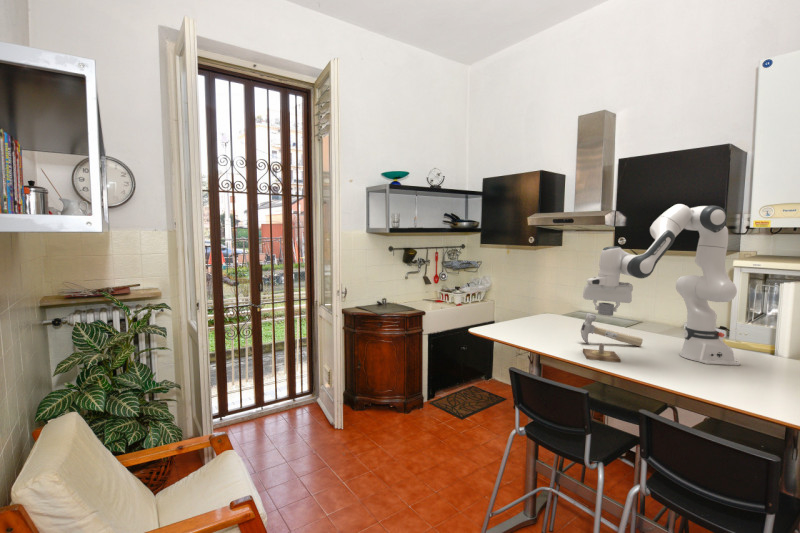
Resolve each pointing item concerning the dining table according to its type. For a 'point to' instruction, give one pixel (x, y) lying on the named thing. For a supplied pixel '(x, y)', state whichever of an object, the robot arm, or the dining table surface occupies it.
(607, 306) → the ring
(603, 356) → the post board
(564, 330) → the dining table surface
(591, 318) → the hammer
